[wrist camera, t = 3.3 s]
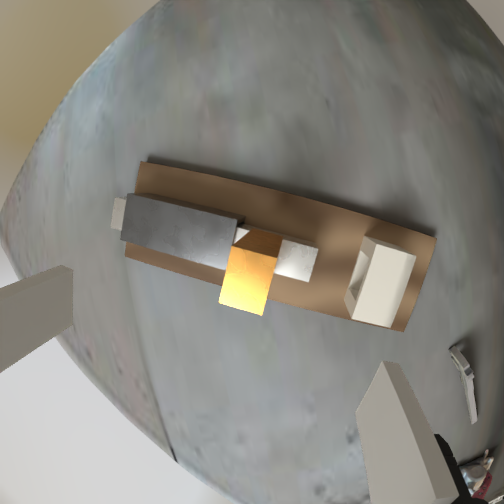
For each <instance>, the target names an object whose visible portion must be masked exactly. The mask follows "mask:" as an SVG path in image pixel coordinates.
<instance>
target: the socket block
mask: <svg viewBox="0 0 504 504" xmlns="http://www.w3.org/2000/svg"><path fill="white" fill-rule="evenodd" d="M415 259H416V256H415V255H414V254H412V253H410V252H408V251H407V250H405V249H403V248H401V247H400V246H397V245H394V244H390V243H387V242H384V241H381V240H377V239H374V238H371V237H367V236H364V237H363V241H362V244H361V247H360V251H359V254H358V257H357V260H356V264H355V267H354V270H353V273H352V276H351V279H350V282H349V285H348V288H347V291H346V294H345V297H344V302H345V304H346V307H347V309H348V312H349V314H350V316H351V319H354V320H359V321H363V322H367V323H371V324H376V325H380V326H384V327H389V328H391V325H392V323H393V320H394V318H395V315H396V313H397V310H398V308H399V305H400V303H401V300H402V297H403V294H404V292H405V289H406V286H407V283H408V280H409V278H410V275H411V272H412V269H413V266H414V263H415Z"/></svg>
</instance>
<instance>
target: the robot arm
mask: <svg viewBox="0 0 504 504" xmlns="http://www.w3.org/2000/svg"><path fill="white" fill-rule="evenodd" d="M72 325H73V270H72V269H70V268H67V267H65V266H63V265H60V266H57V267H55V268H52V269H49V270H46V271H44V272H41V273H38V274H36V275H33V276H31V277H28V278H25V279H23V280H20V281H18V282H15V283H13V284H10V285H7V286H5V287H2V288H0V373H1V372H2V371H4V370H5V369H7V368H8V367H9V366H11V365H13V364H14V363H16V362H17V361H18V360H20V359H21V358H23V357H25V356H26V355H28V354H29V353H31V352H32V351H33V350H35V349H36V348H38V347H39V346H41V345H42V344H44V343H46V342H47V341H49V340H50V339H52V338H53V337H55V336H56V335H58V334H59V333H61V332H62V331H64V330H66V329H67V328H69V327H70V326H72ZM355 416H356V421H357V426H358V430H359V436H360V441H361V446H362V451H363V457H364V462H365V468H366V474H367V480H368V486H369V492H370V499H371V504H489V503H488V502H486V501H485V500H483V499H480V498H472V496H471V494H470V492H469V489H468V487H467V484H466V482H465V480H464V477H463V475H462V473H461V471H460V468H459V466H457V462H456V460H455V457H453V453H452V451H451V449H450V447H449V445H448V443H447V442H446V441H445V440H444V439H443V438H442V437H441V436H440V435H439V434H433V432H432V430H431V428H430V425H429V423H428V421H427V419H426V417H425V415H424V413H423V411H422V409H421V407H420V404H419V402H418V400H417V398H416V396H415V394H414V392H413V390H412V388H411V386H410V384H409V382H408V381H407V379H406V377H405V375H404V373H403V371H402V369H401V367H400V365H399V364H398V363H393V362H387V361H382V362H381V364H380V366H379V368H378V370H377V372H376V374H375V376H374V378H373V380H372V382H371V384H370V386H369V388H368V390H367V392H366V394H365V396H364V397H363V399H362V401H361V403H360V405H359V407H358V408H357V410H356V412H355Z"/></svg>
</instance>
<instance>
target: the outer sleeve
mask: <svg viewBox="0 0 504 504" xmlns="http://www.w3.org/2000/svg"><path fill="white" fill-rule="evenodd" d="M245 218H246V216H244V215H240V214H236V213H232V212H228V211H224V210H220V209H216V208H212V207H208V206H204V205H200V204H195V203H191V202H187V201H183V200H178V199H174V198H170V197H165V196H161V195H157V194H152V193H129V194H127V199H126V205H125V211H124V217H123V223H122V230H121V238H120V240H123V241H126V242H129V243H133V244H136V245H139V246H143V247H146V248H149V249H153V250H156V251H160V252H163V253H166V254H170V255H173V256H177V257H180V258H183V259H187V260H190V261H194V262H197V263H201V264H204V265H208V266H211V267H215V268H218V269H222V270H226V268H227V264H228V259H229V255H230V251H231V246H232V245H233V241H234V236H235V232H236V228H237V225H238V224H239V223H242V224H244V223H245Z"/></svg>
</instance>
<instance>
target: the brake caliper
mask: <svg viewBox="0 0 504 504" xmlns="http://www.w3.org/2000/svg"><path fill="white" fill-rule="evenodd" d="M487 455H488V450H486V451H485V453H484V455H483V457H480V458H478V459H476V460H474V461H472V462H470V463H467V464H466V465H464V466H459V468H460V471H461V473H462V475H463V477H464V480H465V482H466V484H467V487H468V489H469V492H470V494H471V496H472V498H480V499H483V498H484V496H485V494H486V492H487V490H488V487H489V486H490V483H491V480H492V476H491V474H490V473H489V472H488V470H489V468H490V465H491V464H492V461H493V459H494V457H488V458H486V456H487ZM487 478H488V479H487ZM482 482H484V484H483V485H482V486H481V487H480V485H481V484H482ZM479 487H480V488H479ZM484 487H485V489H483V488H484ZM480 492H481V493H482V494H481V495H479V493H480Z"/></svg>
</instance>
